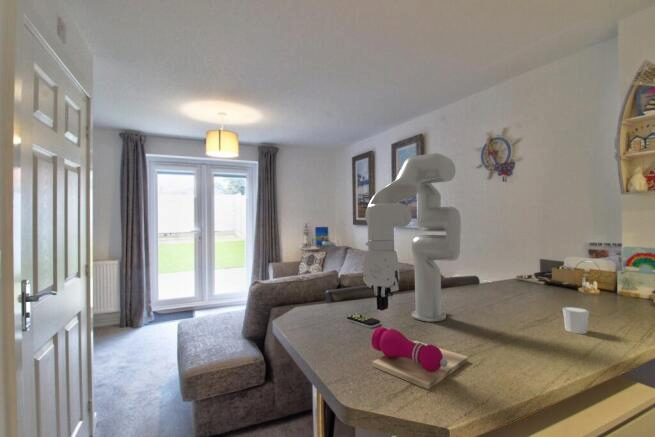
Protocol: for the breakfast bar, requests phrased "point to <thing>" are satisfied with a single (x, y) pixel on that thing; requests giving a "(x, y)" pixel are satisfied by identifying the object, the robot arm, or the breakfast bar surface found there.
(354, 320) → the remote control
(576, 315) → the white tapered cylinder
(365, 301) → the breakfast bar surface
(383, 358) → the cutting board
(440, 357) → the pepper mill
